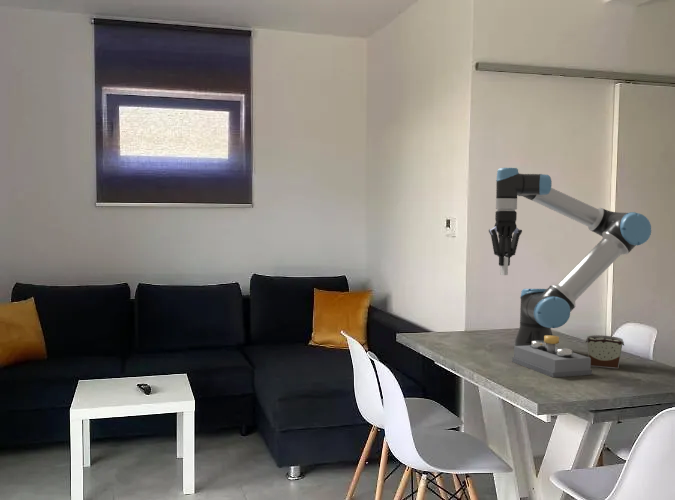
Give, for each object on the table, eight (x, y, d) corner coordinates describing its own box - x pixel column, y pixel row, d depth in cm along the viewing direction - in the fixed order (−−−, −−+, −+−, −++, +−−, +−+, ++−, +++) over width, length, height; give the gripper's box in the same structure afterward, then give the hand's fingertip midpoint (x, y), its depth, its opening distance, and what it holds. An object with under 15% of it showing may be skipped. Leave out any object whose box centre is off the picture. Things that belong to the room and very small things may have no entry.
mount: (548, 359, 244) (548, 344, 244) (591, 374, 223) (592, 357, 222) (512, 361, 240) (512, 346, 239) (552, 377, 218) (553, 360, 218)
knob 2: (565, 365, 227) (565, 347, 227) (574, 368, 223) (575, 350, 223) (553, 366, 226) (553, 348, 226) (562, 369, 221) (563, 351, 221)
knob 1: (539, 356, 241) (540, 340, 240) (548, 359, 236) (548, 342, 236) (528, 357, 239) (528, 340, 239) (536, 360, 235) (537, 343, 234)
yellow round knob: (552, 352, 234) (553, 335, 234) (561, 355, 229) (562, 337, 229) (540, 352, 232) (541, 335, 232) (549, 355, 228) (550, 338, 228)
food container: (622, 365, 238) (623, 336, 237) (623, 368, 232) (624, 339, 232) (584, 362, 242) (585, 334, 241) (584, 365, 236) (585, 336, 236)
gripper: (515, 210, 255) (513, 273, 257) (485, 210, 251) (482, 274, 252) (527, 210, 248) (525, 275, 249) (496, 210, 244) (493, 275, 245)
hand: (503, 274), depth 251 cm, fingers closed
